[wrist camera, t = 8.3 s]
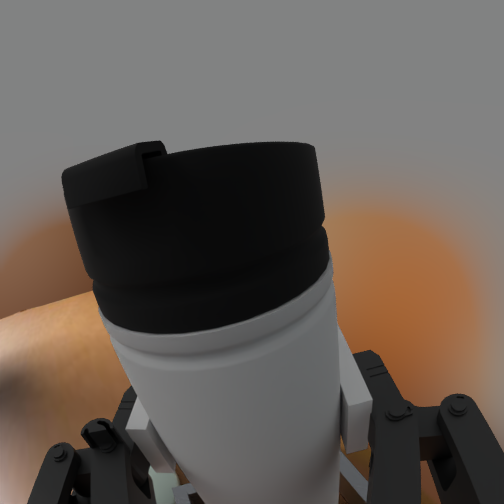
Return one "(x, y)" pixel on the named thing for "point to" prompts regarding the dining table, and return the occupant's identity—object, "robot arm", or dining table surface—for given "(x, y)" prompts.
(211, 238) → the travel mug
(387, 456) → the robot arm
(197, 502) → the square frame
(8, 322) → the dining table surface
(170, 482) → the disc
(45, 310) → the dining table surface
